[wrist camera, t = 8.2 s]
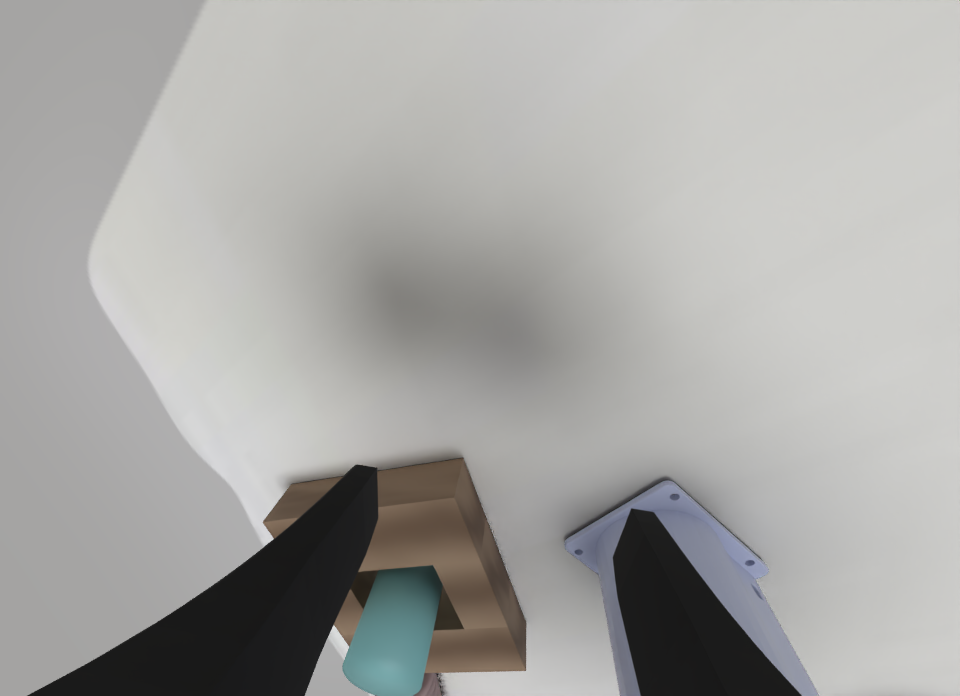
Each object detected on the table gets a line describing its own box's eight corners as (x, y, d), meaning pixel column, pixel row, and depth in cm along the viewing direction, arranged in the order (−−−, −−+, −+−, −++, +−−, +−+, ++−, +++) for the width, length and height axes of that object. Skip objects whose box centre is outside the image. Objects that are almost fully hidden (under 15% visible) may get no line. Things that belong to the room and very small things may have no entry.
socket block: (526, 623, 28) (526, 670, 26) (382, 630, 31) (368, 674, 28) (463, 458, 22) (454, 497, 20) (291, 484, 25) (262, 522, 22)
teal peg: (460, 560, 26) (438, 683, 20) (421, 585, 28) (390, 706, 22) (411, 525, 25) (372, 643, 19) (374, 553, 27) (327, 670, 21)
